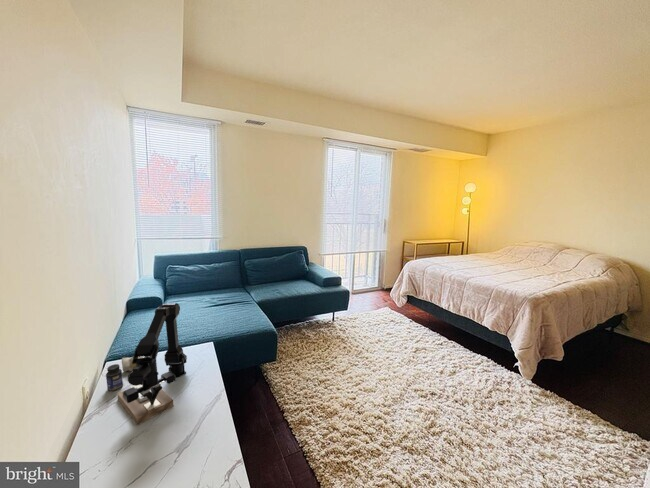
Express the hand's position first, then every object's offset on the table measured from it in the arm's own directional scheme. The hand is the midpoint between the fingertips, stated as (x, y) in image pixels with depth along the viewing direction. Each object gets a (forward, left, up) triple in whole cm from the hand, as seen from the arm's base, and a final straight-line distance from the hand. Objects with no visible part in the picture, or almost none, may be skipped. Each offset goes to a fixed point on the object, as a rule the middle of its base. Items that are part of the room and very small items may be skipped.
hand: (152, 403), depth 121 cm
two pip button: (0, -16, -2) cm, 16 cm away
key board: (0, -8, -3) cm, 9 cm away
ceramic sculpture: (-7, -40, -4) cm, 40 cm away
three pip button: (0, -8, -2) cm, 8 cm away
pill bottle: (+5, -31, -4) cm, 31 cm away
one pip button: (0, 0, -3) cm, 3 cm away
